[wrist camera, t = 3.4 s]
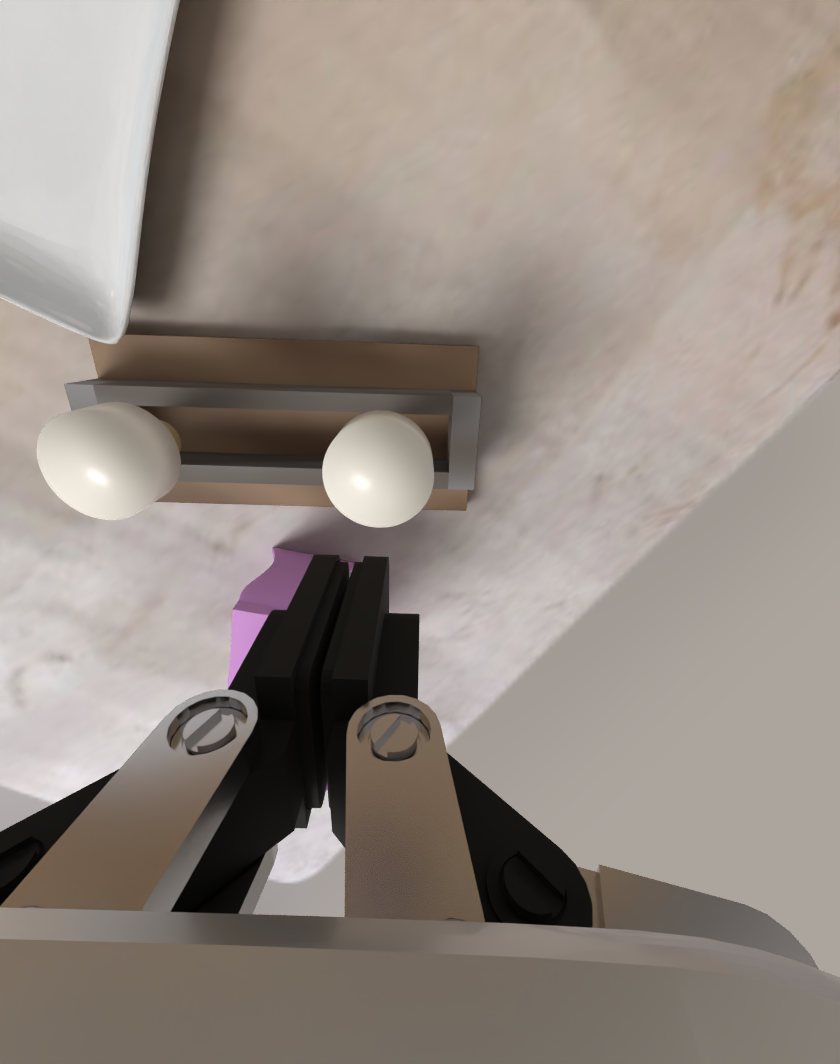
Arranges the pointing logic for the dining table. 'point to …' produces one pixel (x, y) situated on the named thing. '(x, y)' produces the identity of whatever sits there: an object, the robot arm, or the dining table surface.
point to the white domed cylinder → (379, 469)
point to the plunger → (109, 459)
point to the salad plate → (77, 154)
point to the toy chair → (265, 601)
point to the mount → (288, 408)
